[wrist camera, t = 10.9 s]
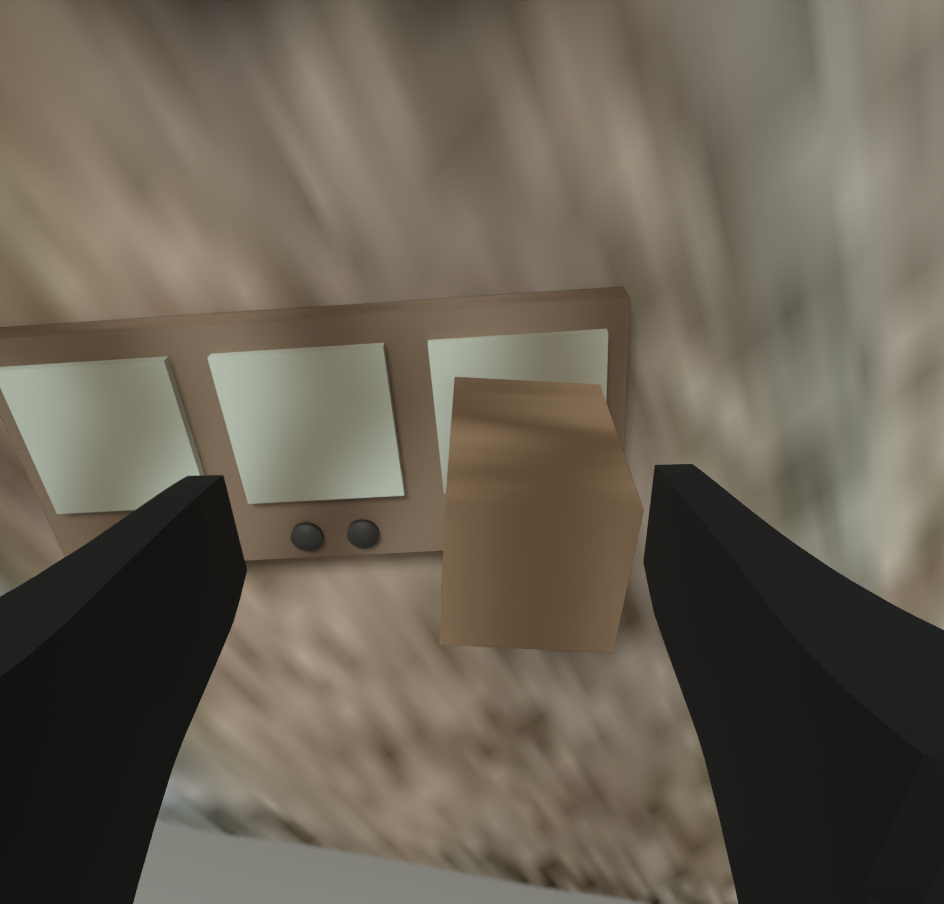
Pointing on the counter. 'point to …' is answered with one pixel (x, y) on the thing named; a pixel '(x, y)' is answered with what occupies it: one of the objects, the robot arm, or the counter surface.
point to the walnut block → (535, 518)
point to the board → (288, 409)
